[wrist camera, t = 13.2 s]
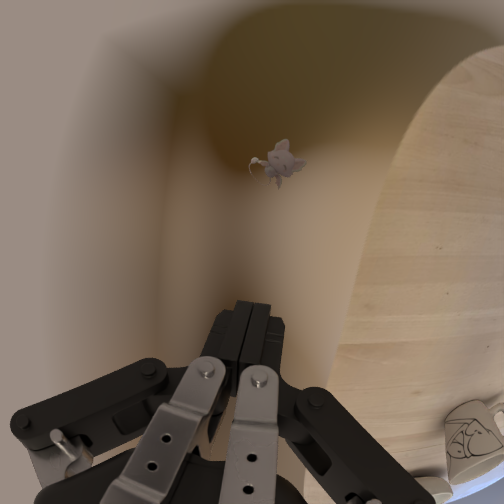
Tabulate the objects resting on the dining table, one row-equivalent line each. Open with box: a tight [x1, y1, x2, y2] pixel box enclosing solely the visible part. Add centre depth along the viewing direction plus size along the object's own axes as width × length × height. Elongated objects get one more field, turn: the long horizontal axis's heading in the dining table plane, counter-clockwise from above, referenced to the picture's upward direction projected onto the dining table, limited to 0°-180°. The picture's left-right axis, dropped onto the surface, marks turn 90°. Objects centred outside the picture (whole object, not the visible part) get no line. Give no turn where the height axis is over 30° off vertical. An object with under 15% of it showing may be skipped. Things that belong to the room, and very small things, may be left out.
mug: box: [445, 400, 504, 485], centre depth 23 cm, size 11×8×10 cm
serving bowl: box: [414, 477, 453, 504], centre depth 37 cm, size 21×21×7 cm
